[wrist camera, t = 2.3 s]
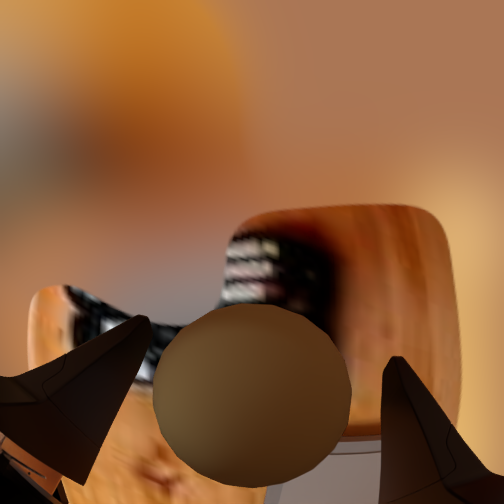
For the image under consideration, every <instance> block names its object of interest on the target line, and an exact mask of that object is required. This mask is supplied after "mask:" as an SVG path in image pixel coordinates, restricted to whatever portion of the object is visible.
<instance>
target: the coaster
mask: <svg viewBox="0 0 504 504" xmlns="http://www.w3.org/2000/svg"><path fill="white" fill-rule="evenodd" d="M380 469H381V435H370V436H341V438H340V440H339V442H338V444H337V446H336V447H335V449H334V450H333V451H332V452H331V453H330V454H329V455H328V456H327V457H326V458H325V459H324V460H323V461H322V462H321V463H320V464H319V465H317V466H316V467H315V468H314V469H313V470H311V471H309V472H307V473H305V474H303V475H301V476H299V477H297V478H295V479H292V480H290V481H288V482H286V483H283V484H278V485H272V486H267V490H266V495H265V499H264V504H378V499H379V487H380Z"/></svg>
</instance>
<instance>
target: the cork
mask: <svg viewBox="0 0 504 504" xmlns="http://www.w3.org/2000/svg"><path fill="white" fill-rule="evenodd" d="M351 396H352V388H351V384H350V380H349V375H348V371H347V367H346V363H345V360H344V359H343V357H342V356H341V354H340V353H339V351H338V349H337V348H336V346H335V345H334V343H333V342H332V340H331V339H330V337H329V336H328V335H327V334H326V333H324V332H323V331H322V330H321V329H319V328H318V327H317V326H315V325H314V324H313V323H312V322H310V321H309V320H308V319H306V318H305V317H304V316H302V315H299V314H296V313H293V312H291V311H288V310H285V309H282V308H280V307H277V306H274V305H263V304H244V303H240V304H237V305H233V306H229V307H225V308H221V309H217V310H212V311H210V312H209V313H207V314H205V315H204V316H202V317H200V318H199V319H197V320H196V321H194V322H192V323H191V324H189V325H187V326H186V327H184V328H183V329H182V330H181V331H180V332H179V333H178V334H177V336H176V337H175V338H174V339H173V340H172V341H171V343H170V344H169V345H168V346H167V347H166V349H165V350H164V351H163V353H162V356H161V359H160V361H159V364H158V366H157V369H156V372H155V374H154V377H153V407H154V411H155V414H156V418H157V421H158V424H159V427H160V431H161V434H162V435H163V437H164V438H165V440H166V441H167V443H168V444H169V446H170V447H171V449H172V450H173V451H174V453H175V454H176V456H177V457H179V458H180V459H181V460H182V461H183V462H185V463H186V464H187V465H188V466H190V467H191V468H192V469H193V470H195V471H196V472H197V473H199V474H201V475H203V476H206V477H208V478H210V479H212V480H215V481H217V482H220V483H222V484H226V485H232V486H239V487H248V488H257V487H265V486H272V485H278V484H283V483H286V482H288V481H290V480H292V479H295V478H297V477H299V476H301V475H303V474H305V473H307V472H309V471H311V470H313V469H314V468H315V467H316V466H317V465H319V464H320V463H321V462H322V461H323V460H324V459H325V458H326V457H327V456H328V455H329V454H330V453H331V452H332V451H333V450H334V449H335V447H336V446H337V444H338V442H339V440H340V438H341V436H342V434H343V432H344V430H345V428H346V426H347V424H348V420H349V412H350V404H351Z"/></svg>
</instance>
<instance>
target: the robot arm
mask: <svg viewBox="0 0 504 504" xmlns="http://www.w3.org/2000/svg"><path fill="white" fill-rule="evenodd" d="M152 336H153V331H152V327H151V324H150V320H149V318H148V317H147V316H144V315H136V316H134V317H132V318H131V319H129V320H127V321H125V322H123V323H121V324H120V325H118V326H116V327H114V328H112V329H110V330H109V331H107V332H105V333H103V334H101V335H99V336H97V337H96V338H94V339H92V340H90V341H88V342H86V343H85V344H83V345H81V346H79V347H77V348H75V349H73V350H72V351H70V352H68V353H67V354H64V355H62V356H60V357H59V358H57V359H55V360H53V361H51V362H49V363H46V364H44V365H42V366H40V367H37V368H35V369H33V370H30V371H28V372H25V373H23V374H21V375H18V376H14V377H3V376H0V504H68V503H69V502H68V499H67V496H66V493H65V490H64V487H63V484H62V481H61V478H62V476H65V477H67V478H69V479H71V480H73V481H74V482H76V483H78V484H80V485H82V486H84V485H85V483H86V480H87V478H88V476H89V473H90V471H91V469H92V467H93V464H94V462H95V460H96V458H97V455H98V453H99V451H100V448H101V446H102V444H103V442H104V440H105V438H106V436H107V434H108V431H109V429H110V427H111V425H112V423H113V421H114V419H115V417H116V415H117V413H118V411H119V409H120V407H121V405H122V403H123V401H124V399H125V397H126V395H127V393H128V391H129V389H130V387H131V385H132V383H133V381H134V379H135V377H136V375H137V373H138V371H139V369H140V367H141V364H142V362H143V359H144V357H145V354H146V352H147V349H148V346H149V344H150V341H151V339H152ZM378 504H504V476H501V475H498V474H495V473H492V472H490V471H489V470H488V469H487V468H486V467H485V466H484V465H483V464H482V463H481V461H480V460H479V459H478V457H477V456H476V455H475V454H474V453H473V451H472V450H471V449H470V448H469V446H468V445H467V444H466V443H465V441H464V440H463V439H462V437H461V436H460V435H459V433H458V432H457V430H456V429H455V427H454V426H453V424H451V422H450V420H449V419H448V417H447V416H446V414H445V413H444V411H443V410H442V409H441V407H440V406H439V404H438V403H437V402H436V400H435V399H434V397H433V396H432V395H431V393H430V392H429V391H428V389H427V388H426V386H425V385H424V384H423V382H422V381H421V380H420V378H419V377H418V376H417V374H416V373H415V372H414V370H413V369H412V368H411V366H410V365H409V364H408V363H407V361H406V360H405V359H404V358H403V357H402V356H392V357H391V358H390V360H389V362H388V364H387V365H386V367H385V369H384V371H383V375H382V397H381V469H380V487H379V499H378Z"/></svg>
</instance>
